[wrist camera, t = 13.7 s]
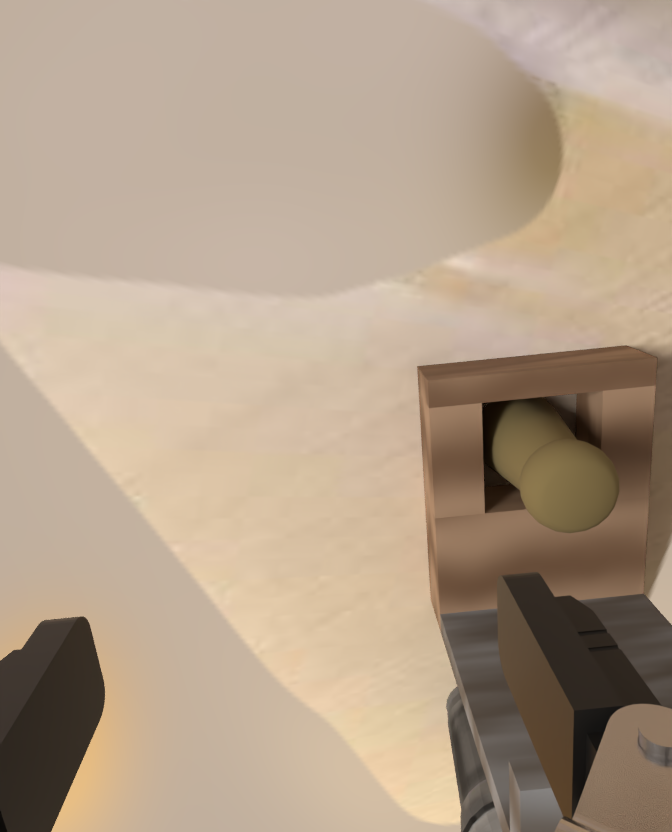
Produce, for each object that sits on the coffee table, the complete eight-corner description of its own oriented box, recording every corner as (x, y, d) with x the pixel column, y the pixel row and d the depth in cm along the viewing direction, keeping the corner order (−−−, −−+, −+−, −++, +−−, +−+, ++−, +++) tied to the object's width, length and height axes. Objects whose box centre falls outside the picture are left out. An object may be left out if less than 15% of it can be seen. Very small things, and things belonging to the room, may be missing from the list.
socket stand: (417, 366, 42) (517, 503, 21) (625, 345, 42) (929, 462, 21) (431, 605, 47) (521, 900, 26) (615, 586, 47) (848, 867, 26)
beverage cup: (461, 651, 48) (555, 931, 29) (537, 688, 49) (676, 979, 30) (411, 719, 50) (471, 1024, 31) (487, 753, 51) (588, 1066, 32)
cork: (493, 379, 42) (552, 430, 31) (574, 405, 43) (658, 464, 32) (460, 459, 44) (506, 533, 33) (538, 483, 44) (608, 563, 34)
